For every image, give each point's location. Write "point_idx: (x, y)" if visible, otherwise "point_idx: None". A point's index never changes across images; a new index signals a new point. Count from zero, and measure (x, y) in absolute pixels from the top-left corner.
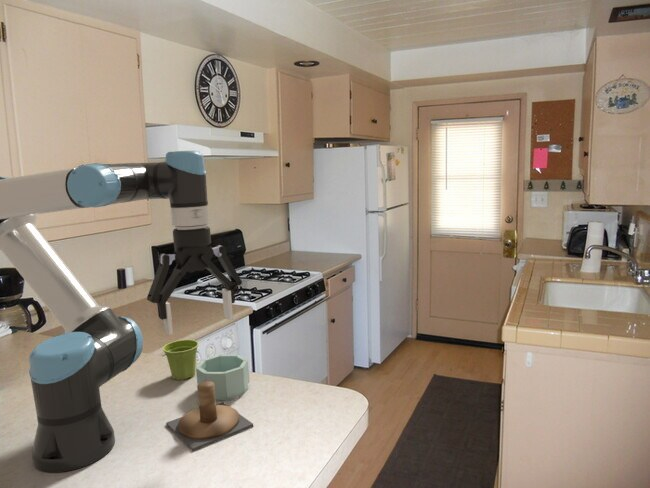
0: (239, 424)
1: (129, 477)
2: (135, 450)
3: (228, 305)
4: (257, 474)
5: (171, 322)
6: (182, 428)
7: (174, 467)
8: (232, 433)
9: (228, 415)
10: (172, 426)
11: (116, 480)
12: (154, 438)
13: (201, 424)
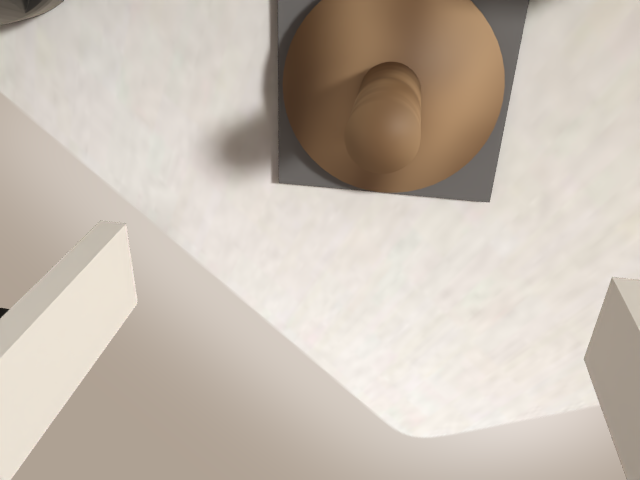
0: (457, 172)
1: (108, 162)
2: (147, 43)
3: (621, 449)
4: (349, 360)
5: (92, 359)
6: (291, 80)
7: (213, 207)
8: (411, 193)
9: (454, 123)
10: (284, 5)
11: (78, 150)
12: (215, 16)
13: (352, 106)
